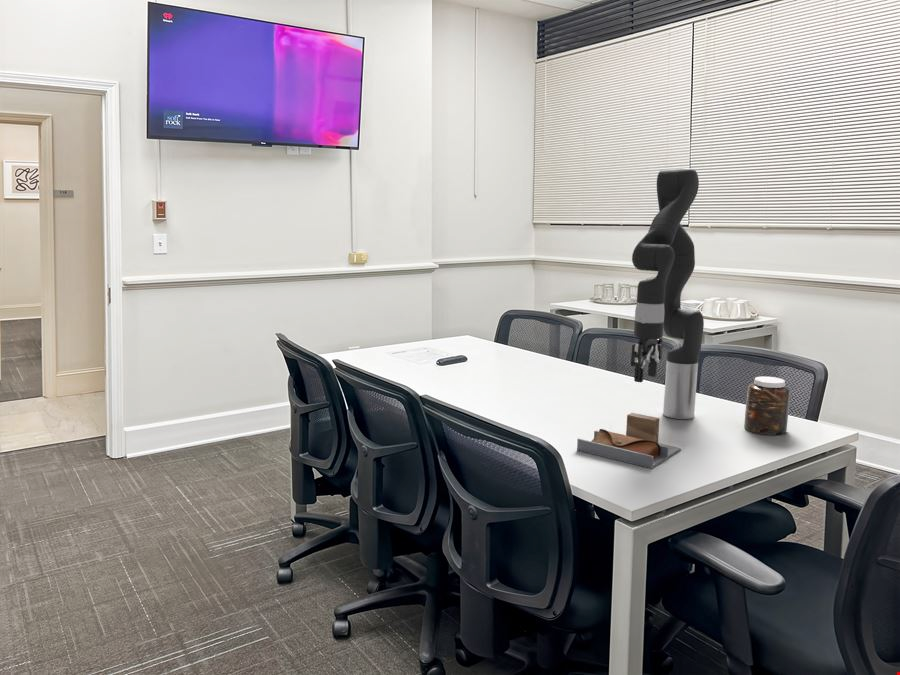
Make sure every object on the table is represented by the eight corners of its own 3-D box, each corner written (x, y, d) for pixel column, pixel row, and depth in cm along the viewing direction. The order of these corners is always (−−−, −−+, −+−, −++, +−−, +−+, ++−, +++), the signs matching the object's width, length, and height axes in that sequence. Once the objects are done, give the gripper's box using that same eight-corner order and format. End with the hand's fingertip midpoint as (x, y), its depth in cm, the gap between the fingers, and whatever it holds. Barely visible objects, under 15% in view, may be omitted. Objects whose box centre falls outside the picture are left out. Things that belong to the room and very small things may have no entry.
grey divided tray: (609, 433, 211) (610, 408, 209) (681, 449, 198) (682, 422, 196) (576, 450, 196) (578, 422, 195) (651, 468, 184) (653, 439, 182)
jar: (794, 436, 211) (799, 384, 209) (753, 435, 211) (758, 384, 208) (776, 423, 223) (780, 375, 220) (737, 423, 223) (741, 374, 220)
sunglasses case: (583, 446, 196) (590, 423, 198) (593, 454, 201) (600, 430, 203) (646, 462, 185) (654, 437, 186) (656, 469, 190) (663, 445, 191)
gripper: (647, 315, 205) (643, 372, 208) (624, 321, 194) (620, 381, 197) (673, 318, 200) (669, 376, 203) (651, 324, 189) (647, 386, 192)
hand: (645, 379), depth 200 cm, fingers open, 8 cm apart
